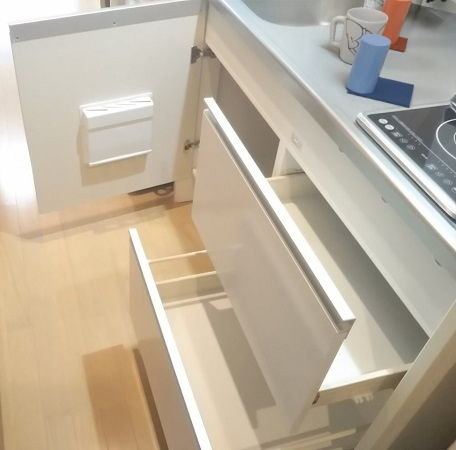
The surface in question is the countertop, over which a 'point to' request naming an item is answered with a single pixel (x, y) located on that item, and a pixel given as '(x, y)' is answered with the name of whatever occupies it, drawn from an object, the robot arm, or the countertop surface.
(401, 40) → the terracotta mat
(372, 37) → the light blue cylinder
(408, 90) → the blue mat
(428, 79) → the countertop surface
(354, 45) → the mug
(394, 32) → the tall orange cylinder
